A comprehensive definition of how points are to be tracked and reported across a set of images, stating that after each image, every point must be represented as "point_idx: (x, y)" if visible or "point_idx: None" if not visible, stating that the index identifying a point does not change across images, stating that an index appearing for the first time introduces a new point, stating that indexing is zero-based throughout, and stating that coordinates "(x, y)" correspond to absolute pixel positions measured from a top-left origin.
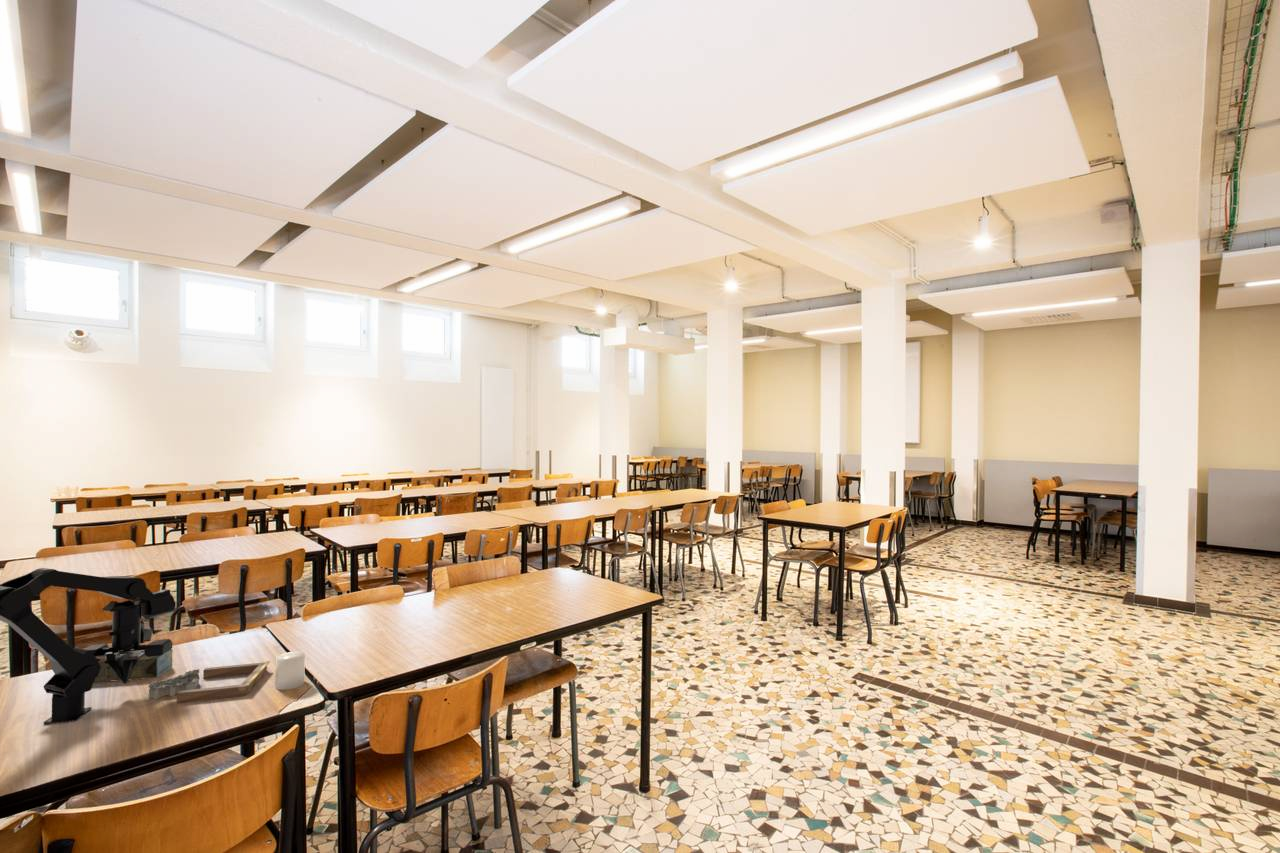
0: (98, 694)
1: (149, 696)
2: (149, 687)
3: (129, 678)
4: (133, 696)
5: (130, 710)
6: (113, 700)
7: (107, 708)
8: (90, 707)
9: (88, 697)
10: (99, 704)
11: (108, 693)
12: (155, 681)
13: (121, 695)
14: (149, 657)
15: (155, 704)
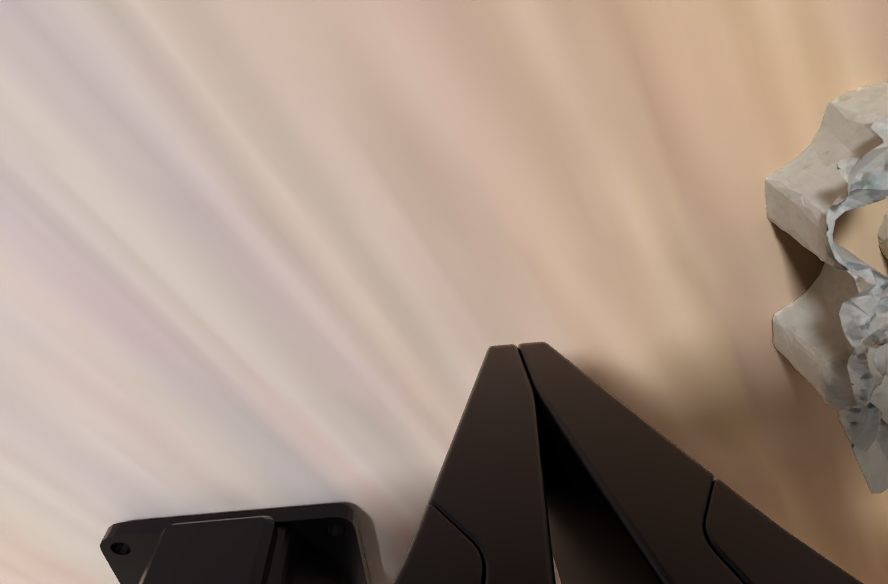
0: (53, 128)
1: (789, 358)
2: (871, 465)
3: (570, 369)
4: (590, 280)
5: None
6: (419, 346)
7: None
8: (338, 520)
9: (6, 211)
10: (336, 413)
11: (180, 118)
12: (874, 152)
13: (422, 225)
14: None
15: (864, 478)
